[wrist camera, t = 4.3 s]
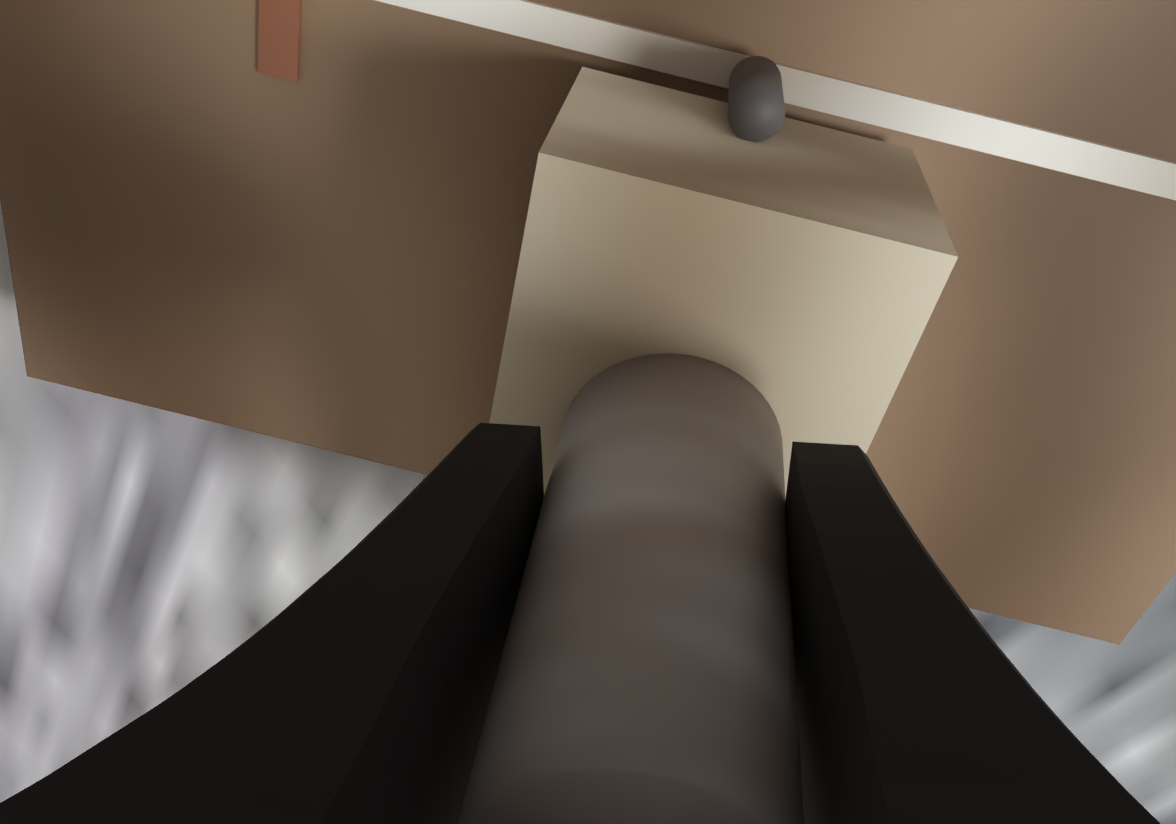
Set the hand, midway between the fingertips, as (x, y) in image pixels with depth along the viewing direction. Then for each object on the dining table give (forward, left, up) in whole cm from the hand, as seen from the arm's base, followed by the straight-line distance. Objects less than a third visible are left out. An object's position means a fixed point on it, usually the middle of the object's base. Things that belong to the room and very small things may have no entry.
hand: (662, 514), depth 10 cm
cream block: (0, +1, -6) cm, 6 cm away
